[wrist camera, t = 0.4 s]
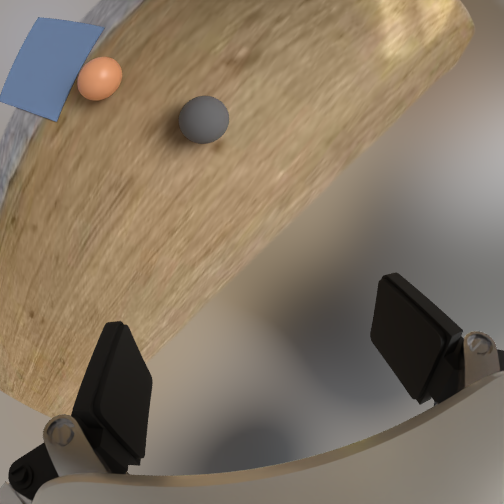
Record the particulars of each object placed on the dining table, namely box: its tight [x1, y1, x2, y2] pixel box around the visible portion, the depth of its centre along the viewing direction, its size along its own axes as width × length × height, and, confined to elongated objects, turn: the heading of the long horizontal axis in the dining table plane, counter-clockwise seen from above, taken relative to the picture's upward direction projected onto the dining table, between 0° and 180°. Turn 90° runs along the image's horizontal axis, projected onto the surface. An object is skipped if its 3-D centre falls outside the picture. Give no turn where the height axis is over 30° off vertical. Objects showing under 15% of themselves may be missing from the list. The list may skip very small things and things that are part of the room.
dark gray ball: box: [179, 96, 229, 144], centre depth 27 cm, size 6×6×6 cm
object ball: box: [77, 57, 122, 101], centre depth 23 cm, size 6×6×6 cm
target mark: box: [0, 17, 104, 122], centre depth 22 cm, size 14×14×1 cm
